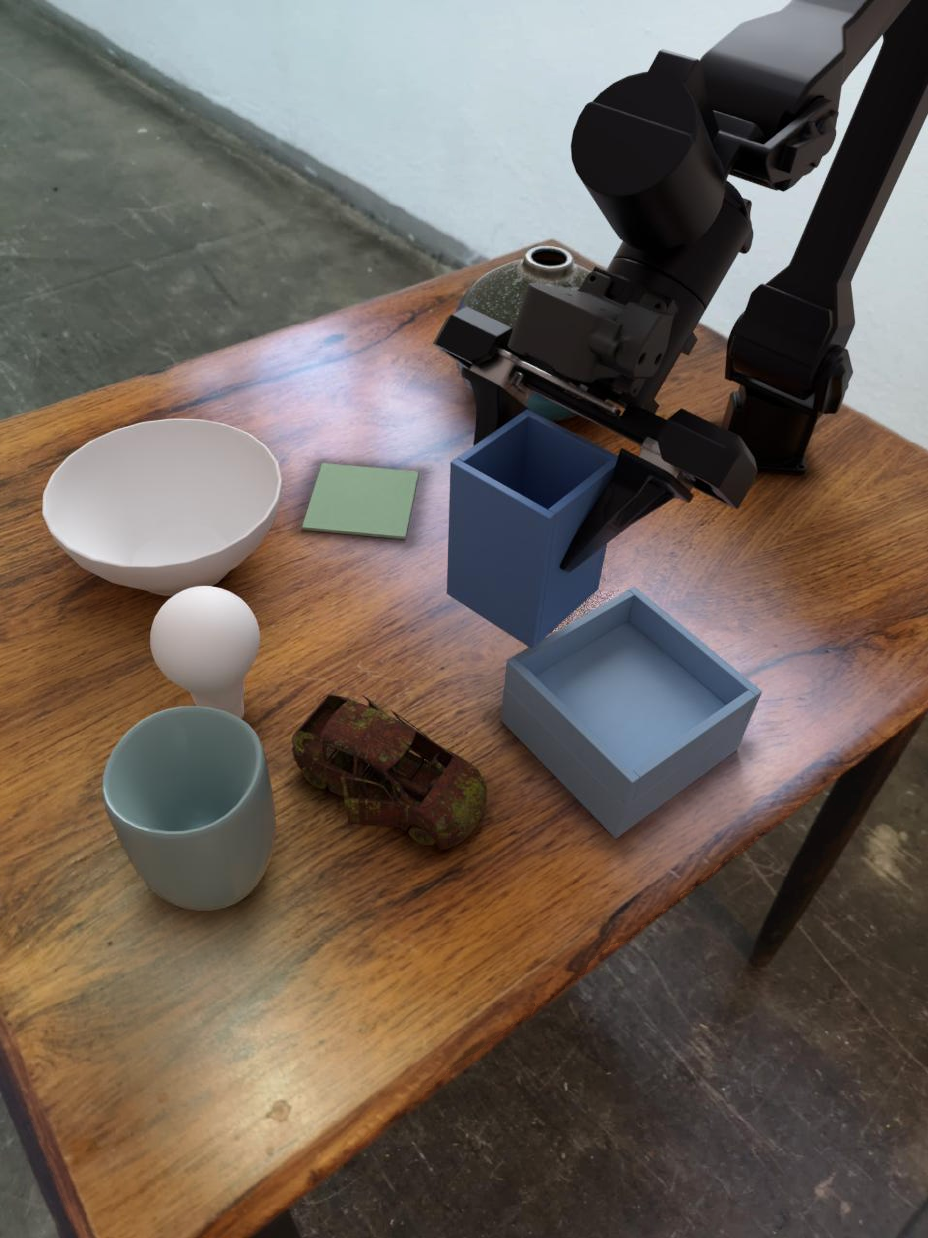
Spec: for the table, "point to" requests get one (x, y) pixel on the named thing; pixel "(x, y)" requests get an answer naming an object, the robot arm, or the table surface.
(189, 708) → the cup
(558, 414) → the vase
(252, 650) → the lightbulb
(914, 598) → the table surface
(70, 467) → the bowl
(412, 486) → the mat
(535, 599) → the upper bin
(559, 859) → the table surface
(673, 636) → the lower bin
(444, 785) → the toy car
